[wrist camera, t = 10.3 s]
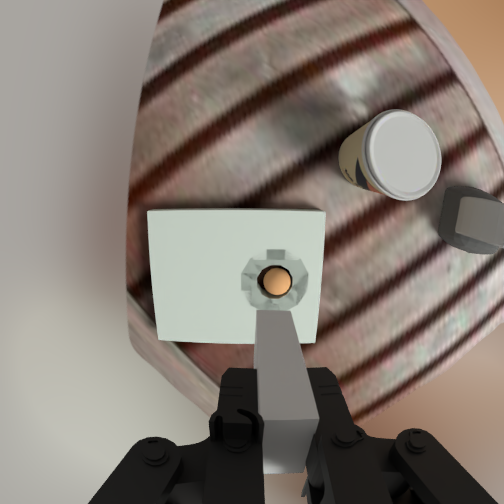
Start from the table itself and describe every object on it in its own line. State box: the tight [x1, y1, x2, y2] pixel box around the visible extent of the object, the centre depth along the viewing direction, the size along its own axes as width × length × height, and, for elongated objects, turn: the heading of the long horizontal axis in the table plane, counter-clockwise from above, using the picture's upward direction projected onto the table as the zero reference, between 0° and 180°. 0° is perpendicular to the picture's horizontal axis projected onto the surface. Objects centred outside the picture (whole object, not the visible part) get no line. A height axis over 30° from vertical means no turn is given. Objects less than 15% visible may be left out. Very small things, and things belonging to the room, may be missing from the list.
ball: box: [264, 268, 291, 295], centre depth 38 cm, size 4×4×4 cm
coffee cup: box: [338, 109, 441, 201], centre depth 30 cm, size 9×9×12 cm
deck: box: [147, 208, 326, 344], centre depth 39 cm, size 22×18×2 cm
